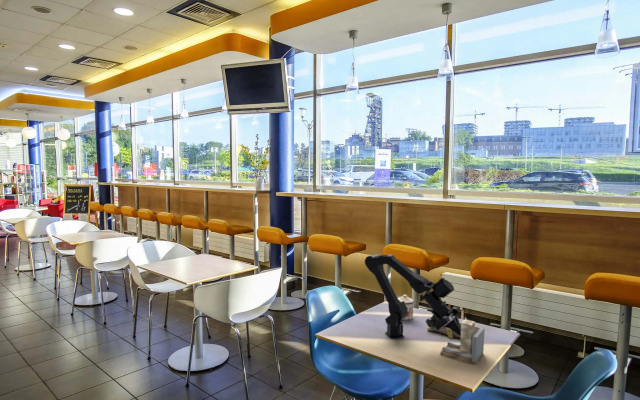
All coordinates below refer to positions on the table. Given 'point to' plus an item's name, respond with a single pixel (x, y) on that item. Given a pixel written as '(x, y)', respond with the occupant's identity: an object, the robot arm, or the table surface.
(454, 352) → the rail board
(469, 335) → the ash block
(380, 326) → the table surface
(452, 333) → the book
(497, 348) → the table surface
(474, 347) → the backstop wall
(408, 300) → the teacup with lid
